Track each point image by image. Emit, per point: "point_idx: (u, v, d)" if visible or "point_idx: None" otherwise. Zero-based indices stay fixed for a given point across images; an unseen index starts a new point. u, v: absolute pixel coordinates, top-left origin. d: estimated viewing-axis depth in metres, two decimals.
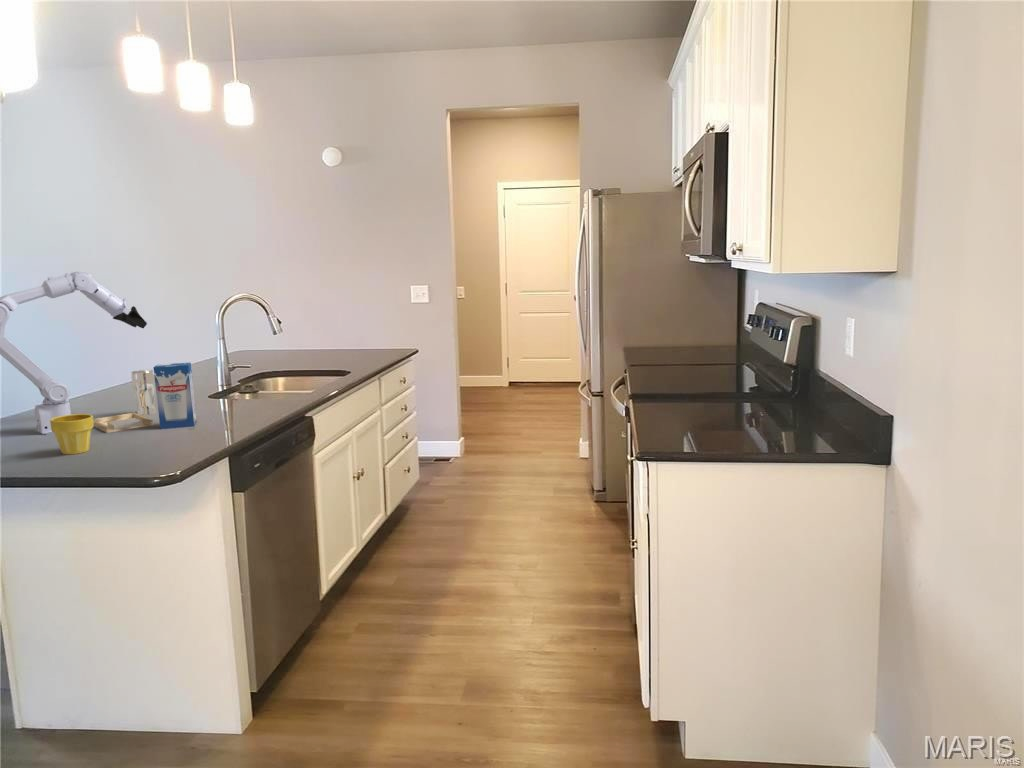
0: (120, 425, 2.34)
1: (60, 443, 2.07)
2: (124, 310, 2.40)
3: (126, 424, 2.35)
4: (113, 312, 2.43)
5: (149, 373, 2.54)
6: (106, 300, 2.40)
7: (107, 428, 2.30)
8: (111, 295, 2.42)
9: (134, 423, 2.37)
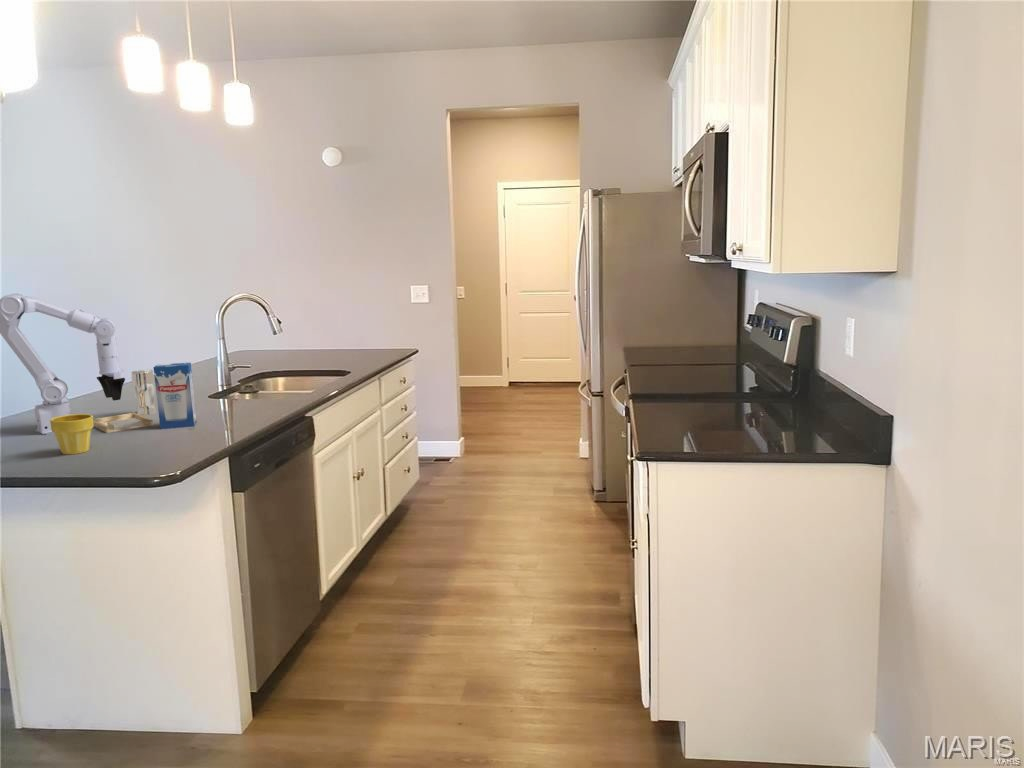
0: (120, 425, 2.34)
1: (60, 443, 2.07)
2: (115, 374, 2.36)
3: (126, 424, 2.35)
4: (104, 370, 2.38)
5: (149, 373, 2.54)
6: (108, 357, 2.38)
7: (107, 428, 2.30)
8: (116, 357, 2.40)
9: (134, 423, 2.37)
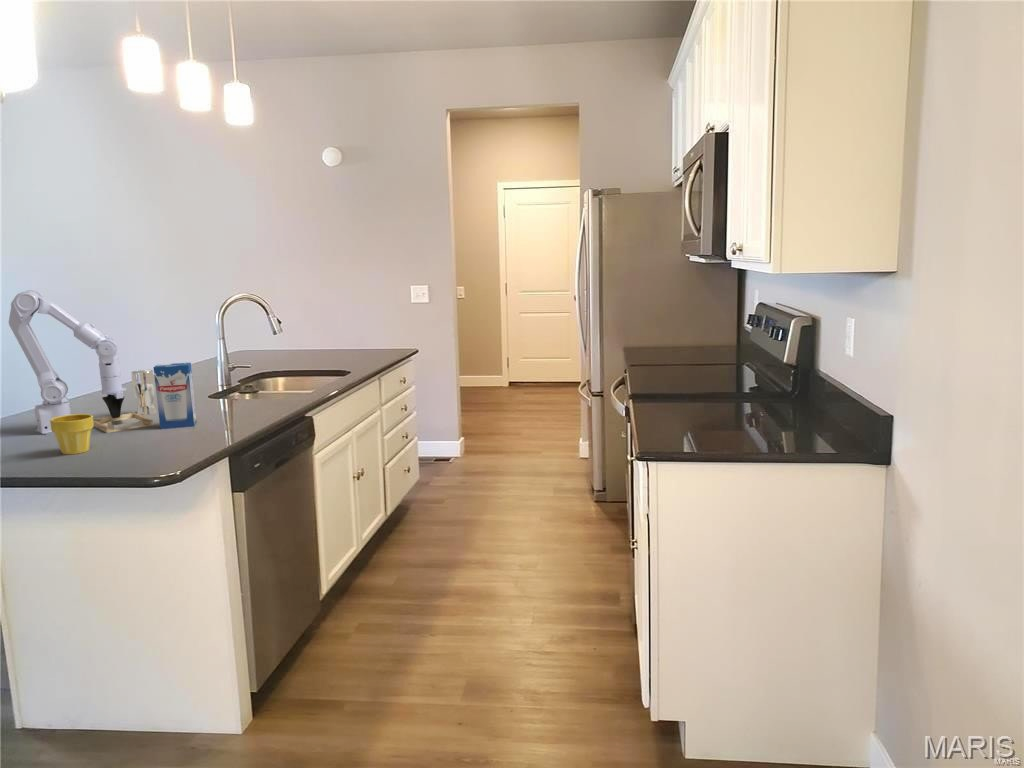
0: (120, 425, 2.34)
1: (60, 443, 2.07)
2: (118, 393, 2.37)
3: (126, 424, 2.35)
4: (106, 390, 2.40)
5: (149, 373, 2.54)
6: (111, 377, 2.39)
7: (107, 428, 2.30)
8: (118, 376, 2.41)
9: (134, 423, 2.37)
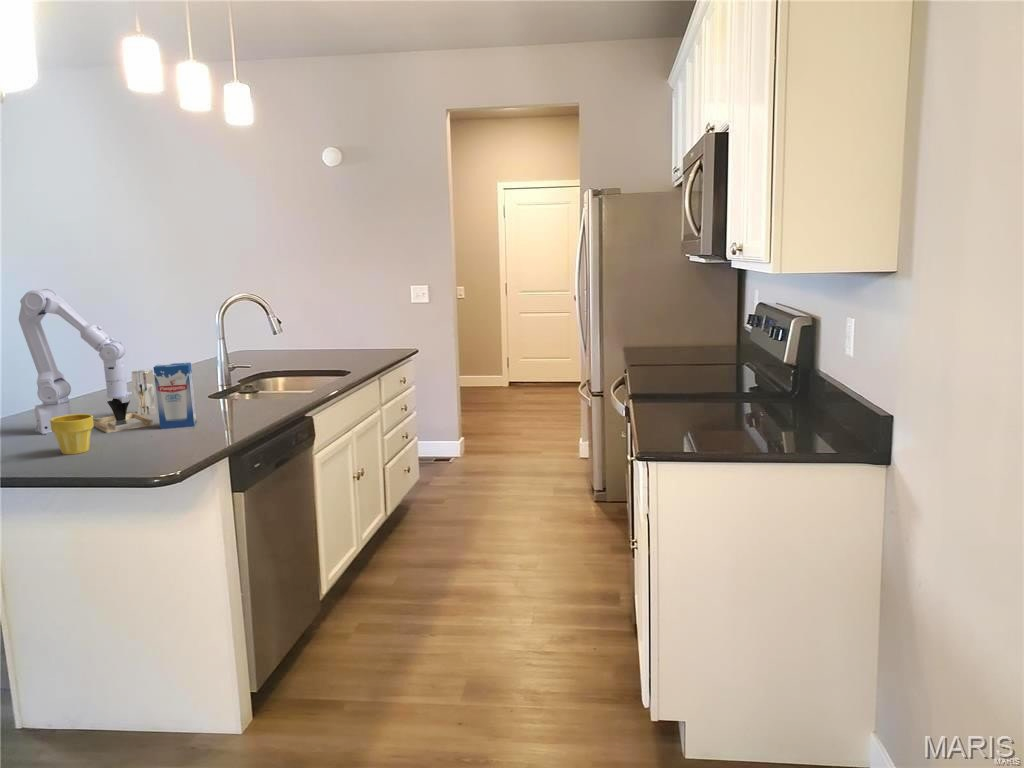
0: (121, 425, 2.33)
1: (60, 443, 2.07)
2: (123, 398, 2.34)
3: (127, 424, 2.35)
4: (111, 394, 2.36)
5: (149, 373, 2.54)
6: (116, 380, 2.36)
7: (107, 428, 2.30)
8: (124, 380, 2.38)
9: (135, 423, 2.36)
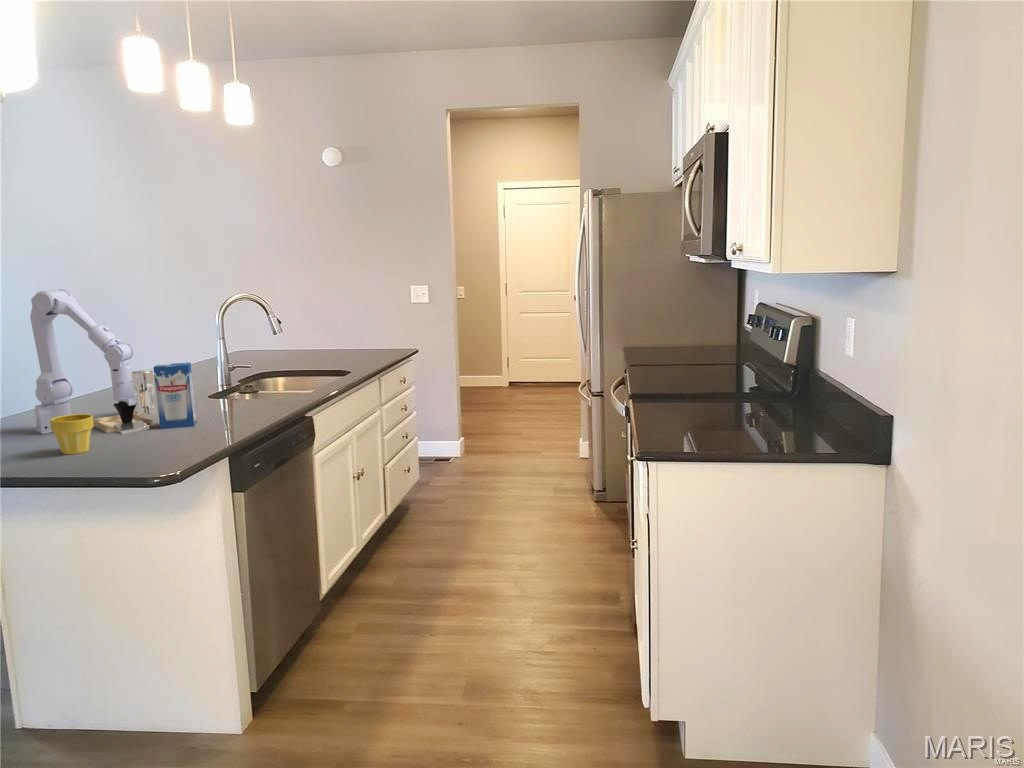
0: (128, 431, 2.29)
1: (60, 443, 2.07)
2: (130, 400, 2.29)
3: (134, 429, 2.30)
4: (118, 396, 2.32)
5: (149, 373, 2.54)
6: (123, 383, 2.31)
7: (107, 428, 2.30)
8: (130, 382, 2.33)
9: (142, 428, 2.32)
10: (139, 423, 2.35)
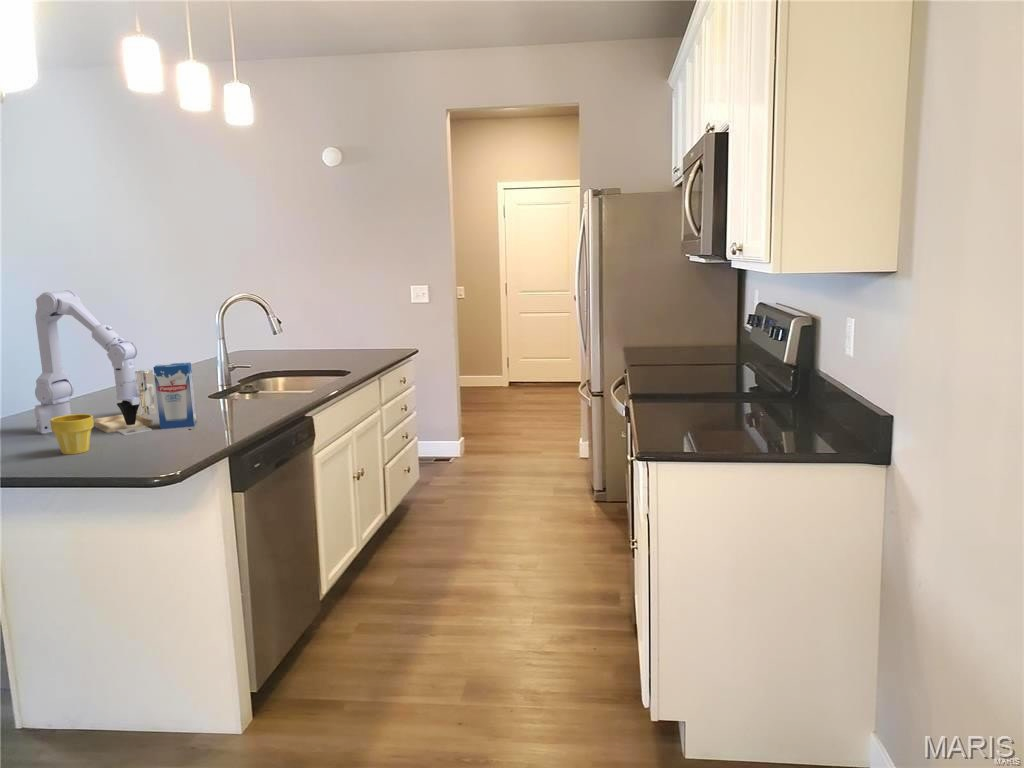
0: (130, 433, 2.28)
1: (60, 443, 2.07)
2: (133, 400, 2.26)
3: (136, 432, 2.29)
4: (121, 396, 2.29)
5: (149, 373, 2.54)
6: (126, 382, 2.29)
7: (107, 428, 2.30)
8: (134, 382, 2.31)
9: (144, 431, 2.31)
10: (142, 427, 2.34)
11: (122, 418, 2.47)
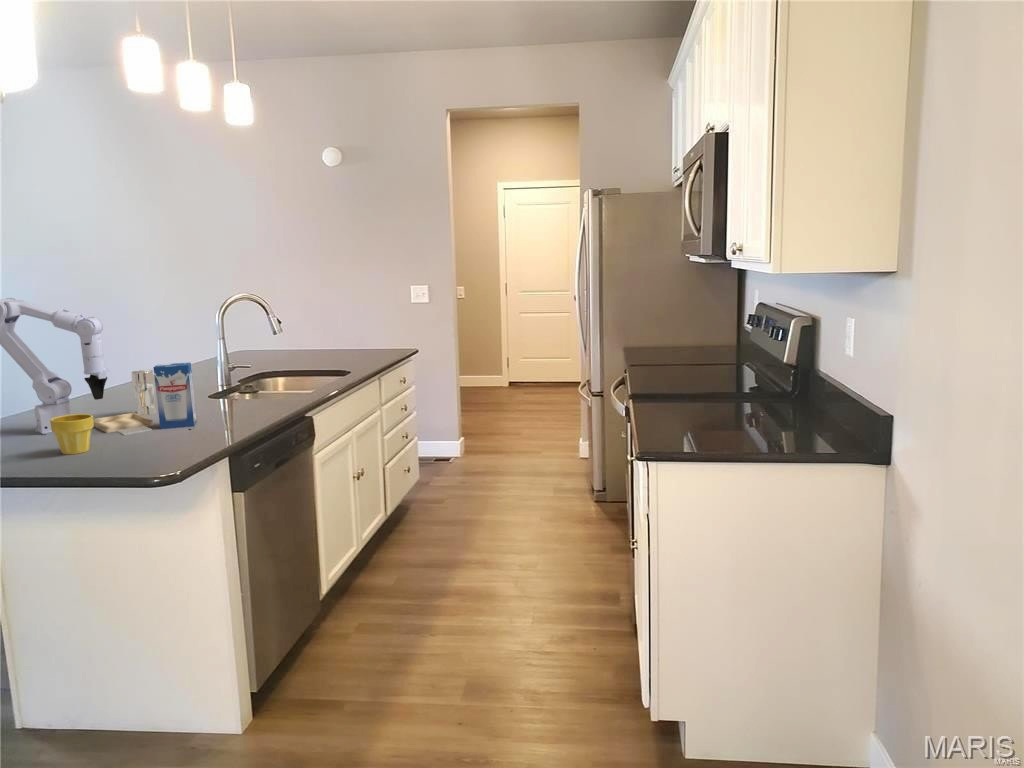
0: (130, 433, 2.28)
1: (60, 443, 2.07)
2: (100, 374, 2.31)
3: (136, 432, 2.29)
4: (88, 370, 2.33)
5: (149, 373, 2.54)
6: (93, 356, 2.33)
7: (107, 428, 2.30)
8: (101, 356, 2.35)
9: (144, 431, 2.31)
10: (142, 427, 2.34)
11: (122, 418, 2.47)
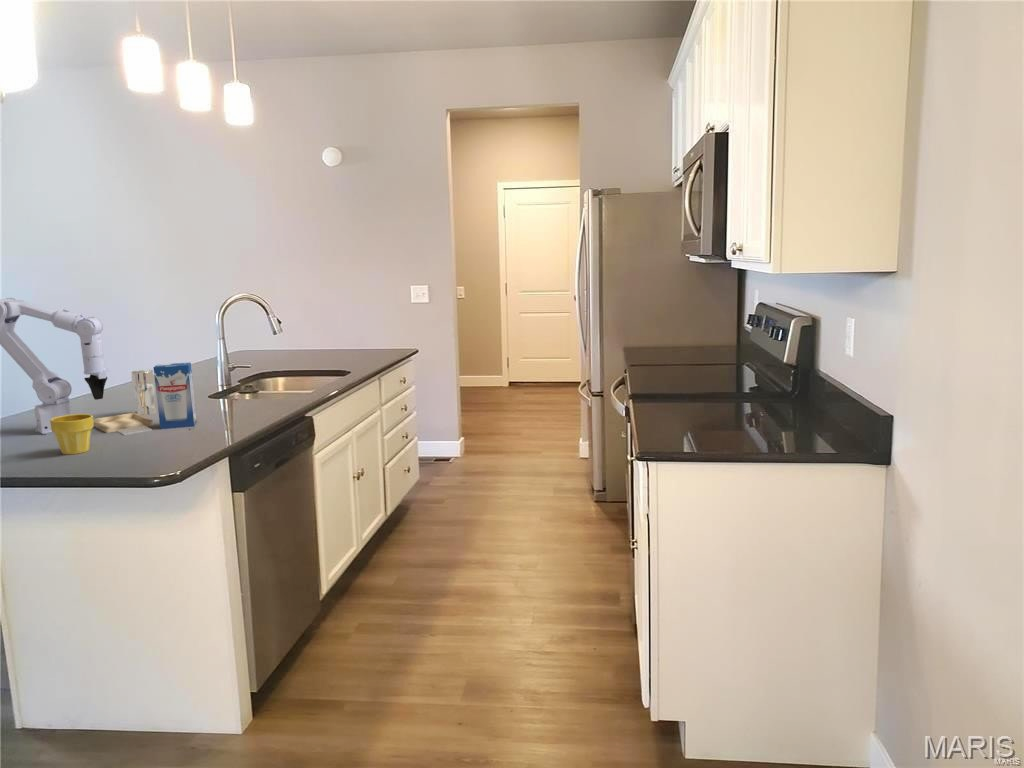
0: (130, 433, 2.28)
1: (60, 443, 2.07)
2: (100, 374, 2.31)
3: (136, 432, 2.29)
4: (88, 370, 2.33)
5: (149, 373, 2.54)
6: (93, 356, 2.33)
7: (107, 428, 2.30)
8: (101, 356, 2.35)
9: (144, 431, 2.30)
10: (142, 427, 2.34)
11: (122, 418, 2.47)
